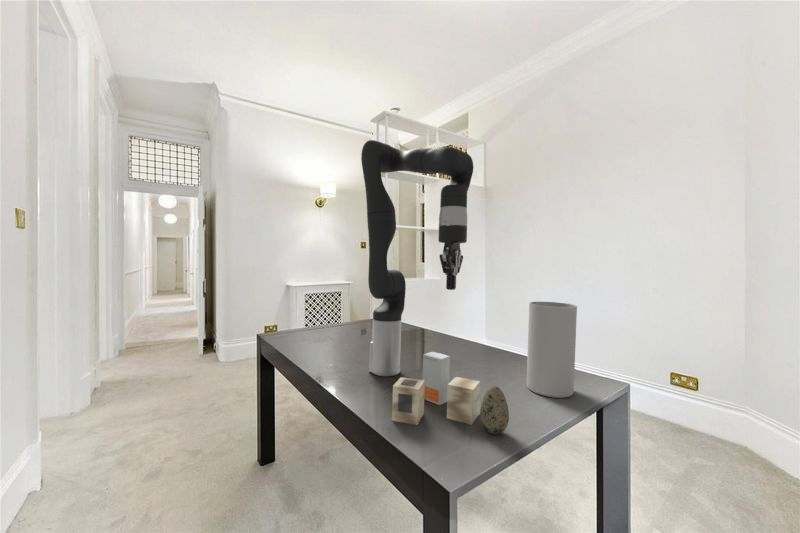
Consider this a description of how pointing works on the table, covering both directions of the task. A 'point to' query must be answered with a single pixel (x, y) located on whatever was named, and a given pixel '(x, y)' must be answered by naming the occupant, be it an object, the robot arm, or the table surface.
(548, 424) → the table surface
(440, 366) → the skincare box
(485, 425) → the decorative egg
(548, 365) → the cylinder vase
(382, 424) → the table surface
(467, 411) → the birch block
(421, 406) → the marked block
